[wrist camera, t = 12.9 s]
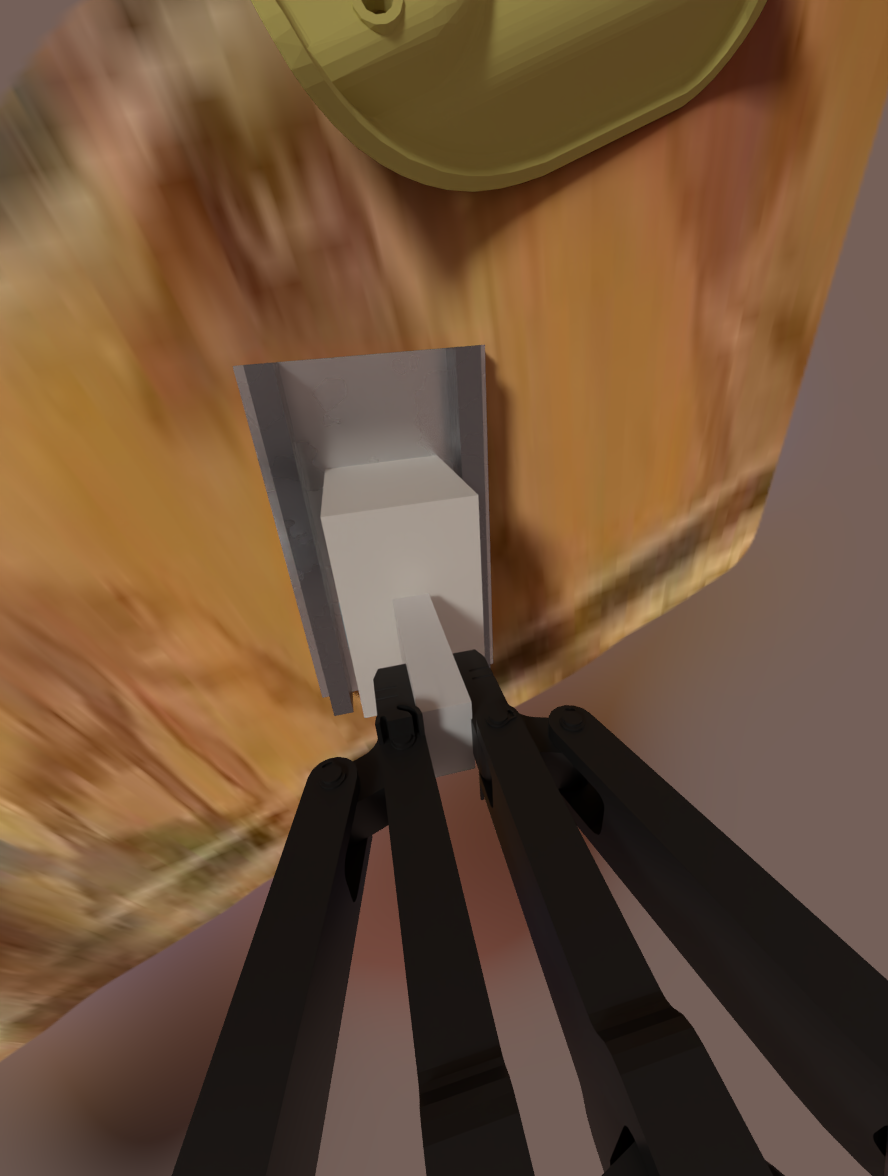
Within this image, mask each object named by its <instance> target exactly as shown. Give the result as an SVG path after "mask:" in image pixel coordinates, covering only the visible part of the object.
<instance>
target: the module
mask: <svg viewBox="0 0 888 1176" xmlns="http://www.w3.org/2000/svg"><path fill="white" fill-rule="evenodd" d="M320 518H321V522H322V527H323V531H324V536H325V540H326V545H327V549H328V554H329V558H330V563H331V567H332V572H333V577H334V581H335V586H336V590H337V595H338V599H339V606H340V611H341V615H342V620H343V624H344V629H345V633H346V638H347V642H348V647H349V650H350V654H351V658H352V663H353V667H354V672H355V676H356V681H357V685H358V690H359V694H360V699H361V703H362V708H363V713H364V717H365V718H368V717H372V716H377V709H376V700H375V691H374V683H373V679H374V676H375V674H376V672H377V670H378V669H380V668H385V667H390V666H396V665H401V664H403V663H402V658H401V654H400V647H399V640H398V634H397V627H396V620H395V614H394V607H393V600H392V599H398V598H404V597H410V596H416V595H421V594H427V593H429V595H430V598H431V601H432V603H433V606H434V608H435V611H436V613H437V616H438V618H439V621H440V623H441V626H442V628H443V631H444V634H445V636H446V639H447V641H448V644H449V646H450V649H451V651H452V654H453V653H458V652H463V651H468V650H473V649H475V650H476V651H478V652H479V653H480V654H482V655H483V656H484V657H485V650H484V625H483V600H482V575H481V550H480V525H479V500H478V494H477V493H476V492H475V491H474V490H473V489H472V488H471V487H469V486H468V485H467V484H466V483H465V482H464V481H463V480H462V479H461V478H460V477H459V476H458V475H457V474H456V473H455V472H454V471H453V470H452V469H451V468H450V467H449V466H448V465H447V464H446V463H445V462H444V461H443V460H441V459H440V458H439V457H438V456H437V455H435V456H427V457H419V458H411V459H403V460H395V461H387V462H379V463H371V464H363V465H355V466H347V467H339V468H331V469H325V475H324V485H323V496H322V506H321V516H320Z"/></svg>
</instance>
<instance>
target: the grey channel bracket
mask: <svg viewBox="0 0 888 1176" xmlns="http://www.w3.org/2000/svg"><path fill="white" fill-rule="evenodd" d="M233 369H234V373H235V376H236V380H237V384H238V387H239V391H240V395H241V398H242V402H243V406H244V409H245V413H246V417H247V421H248V424H249V428H250V432H251V435H252V439H253V443H254V446H255V450H256V454H257V457H258V461H259V465H260V468H261V472H262V476H263V480H264V483H265V487H266V491H267V494H268V498H269V502H270V505H271V509H272V513H273V516H274V520H275V524H276V527H277V531H278V535H279V539H280V542H281V546H282V550H283V553H284V557H285V561H286V564H287V568H288V572H289V575H290V579H291V583H292V586H293V590H294V594H295V598H296V601H297V605H298V609H299V612H300V616H301V620H302V623H303V627H304V631H305V634H306V638H307V642H308V645H309V649H310V653H311V657H312V660H313V664H314V668H315V671H316V675H317V679H318V682H319V686H320V690H321V693H322V697H328V696H329V697H330V700H331V704H332V708H333V712H334V716H337V715H342V714H346V713H351V712H353V691H358V685H357V681H356V676H355V672H354V667H353V663H352V658H351V654H350V650H349V647H348V642H347V638H346V633H345V629H344V624H343V620H342V615H341V611H340V606H339V599H338V595H337V590H336V586H335V581H334V577H333V572H332V567H331V563H330V558H329V554H328V549H327V545H326V540H325V536H324V531H323V527H322V522H321V518H320V516H321V506H322V496H323V485H324V475H325V469H331V468H339V467H347V466H355V465H363V464H371V463H379V462H387V461H395V460H403V459H411V458H419V457H427V456H435V455H437V456H438V457H439V458H440V459H441V460H443V461H444V462H445V463H446V464H447V465H448V466H449V467H450V468H451V469H452V470H453V471H454V472H455V473H456V474H457V475H458V476H459V477H460V478H461V479H462V480H463V481H464V482H465V483H466V484H467V485H468V486H469V487H471V488H472V489H473V490H474V491H475V492H476V493H477V494H478V500H479V525H480V550H481V575H482V600H483V625H484V650H485V659H486V661H487V663H488V665H489V668H490V664H493V639H492V601H491V563H490V525H489V487H488V449H487V411H486V373H485V345H477V346H466V347H454V348H442V349H430V350H418V351H407V352H395V353H383V354H371V355H359V356H347V357H335V358H324V359H312V360H300V361H288V362H276V363H264V364H252V365H241V366H233Z"/></svg>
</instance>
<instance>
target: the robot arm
mask: <svg viewBox="0 0 888 1176" xmlns="http://www.w3.org/2000/svg"><path fill="white" fill-rule="evenodd" d="M392 600H393V607H394V614H395V620H396V627H397V634H398V640H399V647H400V654H401V658H402V663H403V664H401V665H396V666H390V667H385V668H380V669H378V670H377V672H376V674H375V676H374V679H373V683H374V691H375V700H376V709H377V717H376V721H375V726H376V731H377V736H378V741H377V743H376V744H375V746H374V747H373V748H372V749H371V750H370V751H369V752H368V753H367V754H365V755H364V756H362V757H360V758H358V759H356V760H355V761H353V762H352V761H351V760H349V759H347V758H342V757H335V758H330V759H327V760H325V761H323V762H321V763H320V764H318V765H317V766H316V767H315V768H314V769H313V770H312V772H311V773H310V775H309V777H308V779H307V782H306V785H305V788H304V791H303V794H302V797H301V800H300V803H299V805H298V808H297V811H296V814H295V817H294V820H293V823H292V826H291V829H290V832H289V835H288V838H287V840H286V843H285V846H284V849H283V852H282V855H281V858H280V861H279V864H278V867H277V870H276V873H275V876H274V878H273V882H272V884H271V887H270V890H269V893H268V896H267V899H266V902H265V905H264V908H263V911H262V914H261V916H260V919H259V922H258V925H257V928H256V931H255V934H254V937H253V940H252V943H251V946H250V949H249V952H248V955H247V957H246V960H245V963H244V966H243V969H242V972H241V975H240V978H239V981H238V984H237V987H236V990H235V992H234V995H233V998H232V1001H231V1004H230V1007H229V1010H228V1013H227V1016H226V1019H225V1022H224V1025H223V1027H222V1030H221V1034H220V1036H219V1039H218V1042H217V1045H216V1048H215V1051H214V1054H213V1057H212V1060H211V1063H210V1066H209V1068H208V1071H207V1074H206V1077H205V1080H204V1083H203V1086H202V1089H201V1092H200V1095H199V1098H198V1101H197V1104H196V1106H195V1109H194V1112H193V1115H192V1118H191V1121H190V1124H189V1127H188V1130H187V1133H186V1136H185V1139H184V1141H183V1145H182V1147H181V1150H180V1153H179V1156H178V1159H177V1162H176V1165H175V1168H174V1171H173V1174H172V1176H315V1173H316V1167H317V1161H318V1154H319V1149H320V1143H321V1137H322V1131H323V1125H324V1120H325V1114H326V1108H327V1102H328V1096H329V1089H330V1084H331V1078H332V1072H333V1066H334V1060H335V1054H336V1049H337V1043H338V1037H339V1031H340V1025H341V1019H342V1013H343V1007H344V1001H345V996H346V990H347V983H348V978H349V972H350V965H351V960H352V954H353V948H354V942H355V936H356V931H357V925H358V919H359V912H360V907H361V901H362V895H363V889H364V883H365V877H366V871H367V866H368V860H369V854H370V848H371V842H372V835H373V834H374V833H376V832H378V831H379V830H381V829H383V828H384V827H386V826H387V825H389V832H390V840H391V850H392V858H393V866H394V875H395V884H396V893H397V901H398V909H399V919H400V927H401V935H402V944H403V953H404V962H405V970H406V979H407V987H408V996H409V1005H410V1013H411V1022H412V1030H413V1039H414V1048H415V1057H416V1065H417V1074H418V1083H419V1096H420V1117H421V1128H422V1138H423V1148H424V1157H425V1166H426V1174H427V1176H535V1175H534V1171H533V1167H532V1163H531V1159H530V1155H529V1150H528V1146H527V1142H526V1138H525V1134H524V1130H523V1126H522V1122H521V1118H520V1114H519V1110H518V1106H517V1102H516V1098H515V1094H514V1090H513V1087H512V1084H511V1080H510V1076H509V1074H508V1071H507V1069H506V1066H505V1063H504V1060H503V1056H502V1052H501V1048H500V1044H499V1040H498V1036H497V1031H496V1027H495V1023H494V1019H493V1015H492V1010H491V1007H490V1002H489V998H488V994H487V990H486V986H485V982H484V977H483V973H482V969H481V965H480V961H479V956H478V952H477V948H476V944H475V940H474V936H473V931H472V927H471V923H470V919H469V915H468V911H467V906H466V902H465V898H464V894H463V890H462V886H461V882H460V877H459V874H458V869H457V865H456V861H455V857H454V852H453V848H452V844H451V840H450V836H449V832H448V828H447V824H446V819H445V815H444V811H443V807H442V803H441V799H440V794H439V790H438V786H437V782H436V777H440V776H444V775H448V774H452V773H457V772H461V771H465V770H470V769H474V768H475V760H476V763H477V766H478V769H479V780H480V796H481V800H483V799H484V797H485V800H486V803H487V806H488V809H489V812H490V815H491V818H492V821H493V824H494V827H495V830H496V833H497V836H498V839H499V842H500V845H501V848H502V851H503V854H504V857H505V860H506V863H507V866H508V869H509V871H510V874H511V878H512V881H513V883H514V887H515V890H516V893H517V896H518V899H519V901H520V905H521V908H522V911H523V913H524V916H525V919H526V922H527V925H528V928H529V931H530V934H531V937H532V940H533V943H534V946H535V949H536V952H537V955H538V958H539V961H540V964H541V967H542V970H543V973H544V976H545V979H546V982H547V985H548V988H549V991H550V994H551V997H552V1000H553V1003H554V1006H555V1009H556V1012H557V1015H558V1018H559V1021H560V1024H561V1027H562V1030H563V1033H564V1036H565V1039H566V1042H567V1045H568V1048H569V1051H570V1054H571V1056H572V1060H573V1063H574V1066H575V1069H576V1072H577V1075H578V1078H579V1081H580V1085H581V1089H582V1093H583V1098H584V1104H585V1108H586V1114H587V1118H588V1121H589V1125H590V1128H591V1132H592V1136H593V1139H594V1142H595V1145H596V1148H597V1152H598V1154H599V1158H600V1161H601V1164H602V1166H603V1170H604V1174H603V1175H602V1176H784V1175H783V1174H782V1173H781V1172H780V1171H779V1170H777V1169H776V1168H775V1167H774V1166H773V1165H771V1164H770V1163H768V1162H767V1161H766V1160H765V1159H764V1158H763V1156H762V1154H761V1152H760V1150H759V1148H758V1146H757V1144H756V1143H755V1141H754V1139H753V1137H752V1135H751V1133H750V1131H749V1130H748V1127H747V1126H746V1124H745V1122H744V1120H743V1118H742V1116H741V1114H740V1113H739V1111H738V1109H737V1107H736V1105H735V1103H734V1101H733V1099H732V1097H731V1096H730V1094H729V1092H728V1090H727V1088H726V1086H725V1084H724V1082H723V1081H722V1079H721V1077H720V1075H719V1073H718V1071H717V1069H716V1067H715V1066H714V1064H713V1062H712V1060H711V1058H710V1056H709V1054H708V1053H707V1051H706V1049H705V1047H704V1045H703V1043H702V1042H701V1040H700V1038H699V1036H698V1035H697V1033H696V1032H695V1030H694V1028H693V1027H692V1025H691V1024H690V1023H689V1022H688V1020H687V1019H686V1018H685V1016H684V1015H683V1014H681V1013H680V1012H678V1011H677V1010H676V1009H674V1008H673V1007H672V1006H671V1005H670V1004H669V1002H668V1001H667V1000H666V999H665V997H664V995H663V993H662V991H661V990H660V988H659V986H658V984H657V982H656V980H655V978H654V976H653V974H652V972H651V970H650V968H649V966H648V964H647V963H646V961H645V958H644V956H643V954H642V952H641V950H640V948H639V946H638V944H637V943H636V941H635V939H634V937H633V935H632V933H631V931H630V929H629V927H628V925H627V923H626V921H625V919H624V917H623V915H622V913H621V911H620V909H619V907H618V905H617V904H616V901H615V900H614V898H613V896H612V894H611V892H610V890H609V888H608V886H607V884H606V882H605V880H604V878H603V876H602V874H601V872H600V870H599V868H598V866H597V864H596V863H595V860H594V859H593V856H592V855H591V853H590V851H589V849H588V847H587V845H586V843H585V841H584V839H583V837H582V835H581V833H580V831H579V829H580V830H581V831H582V832H583V834H584V835H585V836H586V837H587V838H588V840H589V841H590V842H591V843H592V845H593V846H594V847H595V848H596V850H597V851H598V852H599V853H600V855H601V856H602V857H603V858H604V859H605V861H606V862H607V863H608V864H609V866H610V867H611V868H612V869H613V871H614V872H615V873H616V874H617V875H618V877H619V878H620V879H621V880H622V882H623V883H624V884H625V885H626V887H627V888H628V889H629V890H630V891H631V893H632V894H633V895H634V896H635V898H636V899H637V900H638V901H639V903H640V904H641V905H642V906H643V907H644V909H645V910H646V911H647V912H648V914H649V915H650V916H651V917H652V919H653V920H654V921H655V922H656V923H657V925H658V926H659V927H660V928H661V930H662V931H663V932H664V933H665V935H666V936H667V937H668V938H669V940H670V941H671V942H672V943H673V944H674V946H675V947H676V948H677V949H678V951H679V952H680V953H681V954H682V956H683V957H684V958H685V959H686V960H687V962H688V963H689V964H690V965H691V966H692V968H693V969H694V970H695V972H696V973H697V974H698V975H699V976H700V978H701V979H702V980H703V981H704V983H705V984H706V985H707V986H708V987H709V989H710V990H711V991H712V992H713V994H714V995H715V996H716V997H717V999H718V1000H719V1001H720V1002H721V1004H722V1005H723V1006H724V1007H725V1009H726V1010H727V1011H728V1012H729V1013H730V1015H731V1016H732V1017H733V1018H734V1020H735V1021H736V1022H737V1023H738V1025H739V1026H740V1027H741V1028H742V1029H743V1031H744V1032H745V1033H746V1034H747V1035H748V1037H749V1038H750V1039H751V1041H752V1042H753V1043H754V1044H755V1045H756V1047H757V1048H758V1049H759V1050H760V1052H761V1053H762V1054H763V1055H764V1056H765V1058H766V1059H767V1060H768V1061H769V1063H770V1064H771V1065H772V1066H773V1068H774V1069H775V1070H776V1071H777V1073H778V1074H779V1075H780V1076H781V1078H782V1079H783V1080H784V1081H785V1082H786V1084H787V1085H788V1086H789V1087H790V1089H791V1090H792V1091H793V1092H794V1093H795V1094H796V1096H797V1097H798V1098H799V1099H800V1100H801V1101H802V1102H803V1104H804V1105H805V1106H806V1107H807V1108H808V1109H809V1111H810V1112H811V1113H812V1114H813V1115H814V1116H815V1117H816V1119H817V1120H818V1121H819V1122H820V1123H821V1125H822V1126H823V1127H824V1128H825V1129H826V1130H827V1131H828V1132H829V1133H830V1134H831V1135H832V1136H833V1137H834V1138H835V1139H836V1140H837V1141H838V1142H839V1143H840V1144H841V1145H842V1146H843V1147H844V1148H845V1149H846V1150H847V1151H848V1152H849V1153H850V1154H851V1156H853V1158H854V1159H855V1160H856V1161H857V1162H858V1163H859V1164H860V1165H861V1166H862V1167H863V1168H864V1169H866V1170H867V1171H868V1172H869V1173H870V1174H871V1175H872V1176H888V980H887V979H886V978H884V977H883V976H882V975H881V974H880V973H879V972H878V971H877V970H875V969H874V968H873V967H872V966H871V965H870V964H869V963H868V962H867V961H865V960H864V959H863V958H862V957H861V956H860V955H859V954H858V953H857V952H855V951H854V950H853V949H852V948H851V947H850V946H849V945H848V944H847V943H845V942H844V941H843V940H842V939H841V938H840V937H838V935H837V934H835V933H834V932H833V931H832V930H831V929H830V928H829V927H828V926H827V925H825V924H824V923H823V922H822V921H821V920H820V919H819V918H818V917H816V916H815V915H814V914H813V913H812V912H811V911H810V910H809V909H808V908H806V907H805V906H804V905H803V904H802V903H801V902H800V901H799V900H797V899H796V898H795V897H794V896H793V895H792V894H791V893H790V892H789V891H788V890H786V889H785V888H784V887H783V886H782V885H781V884H780V883H778V881H776V880H775V879H774V878H773V877H772V876H771V875H770V874H768V873H767V872H766V871H765V870H764V869H763V868H762V867H761V866H760V865H759V864H757V863H756V862H755V861H754V860H753V859H752V858H751V857H750V856H749V855H747V854H746V853H745V852H744V851H743V850H742V849H741V848H740V847H739V846H737V845H736V844H735V843H734V842H733V841H732V840H731V839H730V838H728V837H727V836H726V835H725V834H724V833H723V832H722V831H721V830H720V829H718V828H717V827H716V826H715V825H714V824H713V823H712V822H711V821H710V820H708V819H707V818H706V817H705V816H704V815H703V814H702V813H701V812H699V811H698V810H697V809H696V808H695V807H694V806H693V805H691V803H689V802H688V801H687V800H686V799H685V798H684V797H683V796H682V795H680V794H679V793H678V792H677V791H676V790H675V789H674V788H673V787H672V786H670V785H669V784H668V783H667V782H666V781H665V780H664V779H663V778H662V777H660V776H659V775H658V774H657V773H656V772H655V771H654V770H653V769H652V768H650V767H649V766H648V765H647V764H646V763H645V762H644V761H643V760H641V759H640V758H639V757H638V756H637V755H636V754H635V753H634V752H633V751H632V750H630V749H629V748H628V747H627V746H626V745H625V744H624V743H623V742H622V741H620V740H619V739H618V738H617V737H616V736H615V735H614V734H613V733H611V732H610V731H609V730H608V729H607V728H606V727H605V726H604V725H603V724H601V723H600V722H599V721H598V720H597V719H596V718H595V717H594V716H592V715H591V714H590V713H589V712H587V711H586V710H584V709H582V708H580V707H576V706H569V705H564V706H561V707H557V708H556V709H554V710H553V711H551V713H550V715H549V718H540V717H529V716H525V715H522V714H519V713H518V711H517V710H516V709H515V708H513V707H511V706H510V705H509V704H508V703H507V701H506V699H505V697H504V695H503V693H502V691H501V689H500V687H499V685H498V683H497V681H496V679H495V677H494V676H493V673H492V671H491V669H490V668H489V665H488V663H487V661H486V659H485V657H484V656H483V655H482V654H480V653H479V652H478V651H476V650H475V649H473V650H468V651H463V652H458V653H453V654H452V651H451V649H450V646H449V644H448V641H447V639H446V636H445V634H444V631H443V628H442V626H441V623H440V621H439V618H438V616H437V613H436V611H435V608H434V606H433V603H432V601H431V598H430V595H429V593H427V594H421V595H416V596H410V597H404V598H398V599H392ZM577 826H578V827H579V829H578V827H577Z"/></svg>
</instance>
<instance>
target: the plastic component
mask: <svg viewBox="0 0 888 1176" xmlns="http://www.w3.org/2000/svg"><path fill="white" fill-rule="evenodd" d="M251 1H252V3H253V5H254V7H255V9H256V11H257V13H258V14H259V16H260V18H261V20H262V22H263V24H264V25H265V27H266V29H267V31H268V32H269V34H270V36H271V38H272V39H273V41H274V43H275V44H276V46H277V48H278V49H279V51H280V53H281V54H282V56H283V58H284V59H285V61H286V63H287V64H288V66H289V68H290V69H291V71H292V72H293V74H294V75H295V77H296V78H297V80H298V81H299V82H300V84H301V85H302V87H303V88H304V90H305V91H306V92H307V94H308V95H309V96H310V97H311V99H312V100H313V101H314V102H315V104H316V105H317V106H318V108H319V109H320V110H321V111H322V112H323V113H324V115H325V116H326V117H327V118H328V119H329V120H330V121H331V123H332V124H333V125H334V126H335V127H336V128H337V129H338V130H339V131H340V132H341V133H342V134H343V135H344V136H345V137H346V138H348V139H349V140H350V141H351V142H352V143H353V144H354V145H355V146H356V147H357V148H358V149H360V150H361V151H363V152H364V153H365V154H367V155H368V156H370V157H371V158H372V159H374V160H375V161H376V162H378V163H379V164H381V165H383V166H385V167H387V168H388V169H390V170H392V171H394V172H396V173H398V174H399V175H401V176H404V177H406V178H409V179H411V180H414V181H417V182H419V183H422V184H425V185H429V186H433V187H437V188H441V189H445V190H456V191H469V192H477V191H485V190H493V189H501V188H505V187H509V186H513V185H517V184H521V183H524V182H526V181H529V180H532V179H535V178H538V177H541V176H544V175H546V174H548V173H550V172H552V171H554V170H556V169H558V168H560V167H562V166H564V165H566V164H568V163H570V162H572V161H574V160H576V159H578V158H580V157H582V156H584V155H586V154H588V153H590V152H592V151H594V150H596V149H598V148H600V147H602V146H604V145H606V144H608V143H610V142H612V141H614V140H616V139H618V138H620V137H622V136H624V135H626V134H628V133H630V132H632V131H634V130H636V129H638V128H640V127H642V126H644V125H646V124H648V123H650V122H652V121H654V120H656V119H658V118H661V117H663V116H665V115H667V114H669V113H671V112H673V111H675V110H677V109H679V108H681V107H683V106H684V105H685V104H686V103H688V102H689V101H690V100H691V99H693V98H694V97H695V96H696V95H698V94H699V93H700V92H701V91H702V90H703V89H704V88H705V87H706V86H707V85H708V84H709V83H710V82H711V81H712V80H713V79H714V78H715V77H716V75H717V74H718V73H719V72H720V71H721V70H722V68H723V67H724V66H725V65H726V64H727V62H728V61H729V60H730V59H731V57H732V56H733V55H734V53H735V52H736V51H737V49H738V48H739V46H740V45H741V44H742V42H743V41H744V40H745V38H746V36H747V35H748V33H749V32H750V30H751V28H752V27H753V25H754V24H755V22H756V20H757V19H758V17H759V16H760V14H761V12H762V10H763V8H764V6H765V4H766V2H767V0H251Z"/></svg>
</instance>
